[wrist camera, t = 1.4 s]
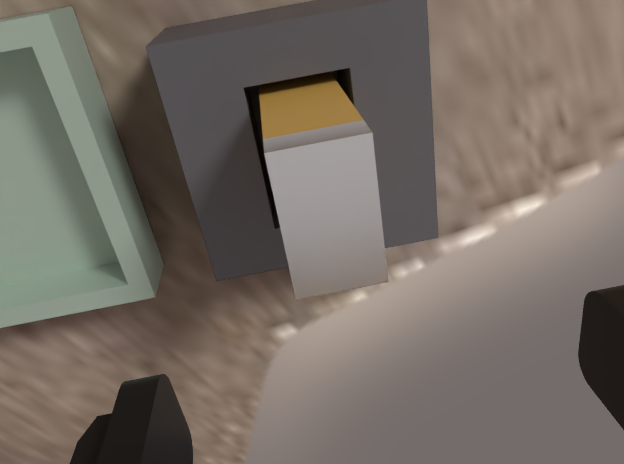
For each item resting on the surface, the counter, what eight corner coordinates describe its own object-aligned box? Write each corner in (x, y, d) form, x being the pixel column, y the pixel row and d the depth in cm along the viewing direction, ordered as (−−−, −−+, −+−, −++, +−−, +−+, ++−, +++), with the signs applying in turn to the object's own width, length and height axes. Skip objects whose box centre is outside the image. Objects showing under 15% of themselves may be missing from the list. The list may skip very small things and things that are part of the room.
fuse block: (221, 228, 27) (216, 281, 23) (165, 28, 22) (145, 46, 18) (407, 192, 27) (438, 237, 23) (391, -14, 23) (426, -6, 18)
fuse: (279, 179, 25) (295, 300, 17) (257, 76, 23) (264, 153, 14) (339, 168, 25) (388, 281, 17) (324, 63, 23) (372, 132, 14)
